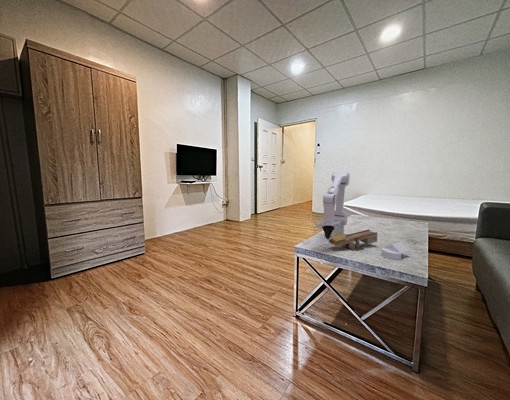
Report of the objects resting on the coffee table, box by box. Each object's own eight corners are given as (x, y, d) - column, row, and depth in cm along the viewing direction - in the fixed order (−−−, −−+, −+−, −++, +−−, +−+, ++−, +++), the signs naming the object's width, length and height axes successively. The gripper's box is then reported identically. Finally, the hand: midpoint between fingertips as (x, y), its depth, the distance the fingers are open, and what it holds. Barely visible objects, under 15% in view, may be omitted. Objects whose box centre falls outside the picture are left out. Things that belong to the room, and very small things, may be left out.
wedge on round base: (391, 250, 120) (377, 254, 114) (392, 239, 119) (378, 242, 113) (408, 256, 113) (394, 261, 107) (410, 244, 112) (396, 248, 106)
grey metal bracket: (340, 244, 129) (341, 234, 128) (351, 243, 131) (352, 233, 130) (352, 250, 119) (353, 239, 118) (363, 249, 121) (364, 238, 120)
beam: (329, 248, 125) (328, 239, 123) (369, 238, 132) (368, 229, 131) (336, 253, 118) (335, 243, 117) (377, 241, 126) (377, 232, 125)
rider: (332, 240, 123) (331, 234, 122) (340, 238, 124) (340, 232, 124) (336, 243, 119) (336, 236, 118) (345, 240, 120) (345, 234, 120)
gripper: (321, 217, 111) (320, 241, 113) (344, 215, 115) (342, 239, 117) (314, 214, 118) (313, 237, 120) (336, 213, 122) (334, 235, 124)
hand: (327, 238), depth 119 cm, fingers closed
